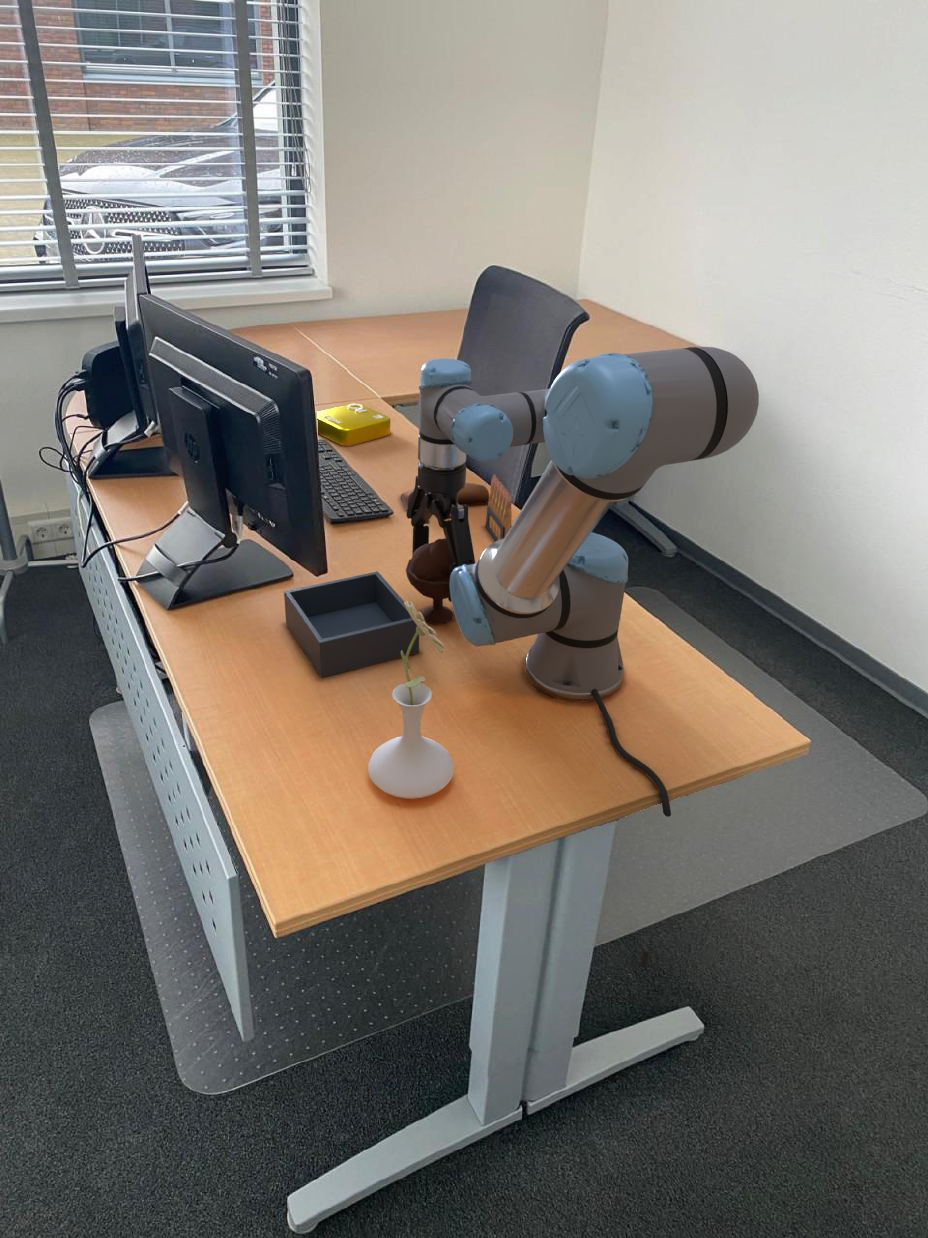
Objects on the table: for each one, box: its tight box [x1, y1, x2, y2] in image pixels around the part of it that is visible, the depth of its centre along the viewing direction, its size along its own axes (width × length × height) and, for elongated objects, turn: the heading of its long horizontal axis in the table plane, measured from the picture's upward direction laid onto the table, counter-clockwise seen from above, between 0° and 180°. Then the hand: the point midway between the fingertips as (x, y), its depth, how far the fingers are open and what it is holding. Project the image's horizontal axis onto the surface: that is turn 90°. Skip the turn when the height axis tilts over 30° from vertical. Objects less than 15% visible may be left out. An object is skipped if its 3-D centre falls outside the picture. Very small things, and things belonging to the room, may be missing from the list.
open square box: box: [283, 571, 420, 678], centre depth 147 cm, size 17×17×6 cm
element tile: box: [316, 402, 391, 447], centre depth 226 cm, size 15×15×5 cm
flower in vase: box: [367, 600, 455, 800], centre depth 115 cm, size 13×11×25 cm
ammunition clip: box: [485, 473, 513, 542], centre depth 178 cm, size 11×2×12 cm, turn 17°
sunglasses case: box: [400, 482, 490, 511], centre depth 194 cm, size 18×7×7 cm
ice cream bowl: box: [405, 537, 454, 625], centre depth 152 cm, size 11×11×15 cm
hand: (437, 579), depth 152 cm, fingers open, 13 cm apart
